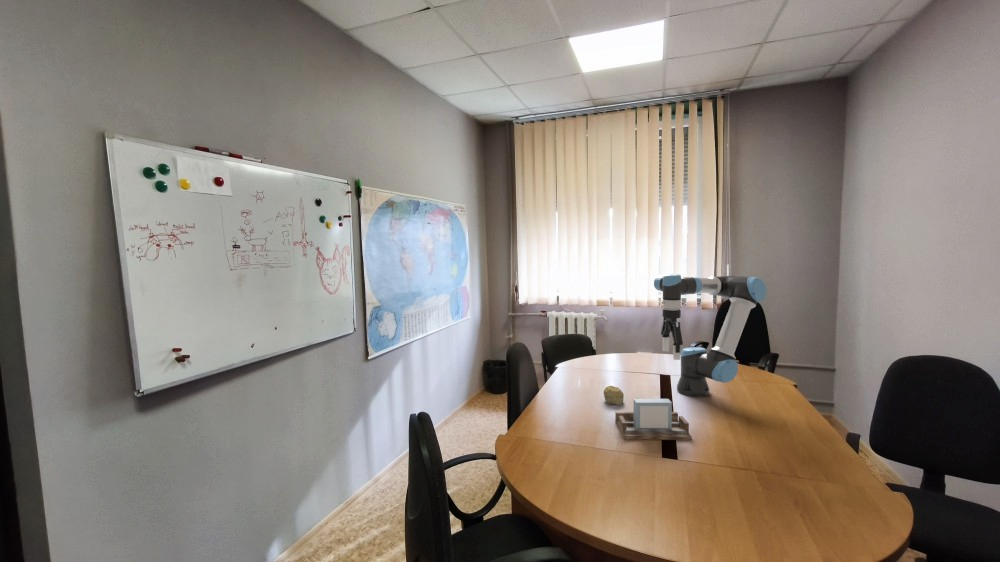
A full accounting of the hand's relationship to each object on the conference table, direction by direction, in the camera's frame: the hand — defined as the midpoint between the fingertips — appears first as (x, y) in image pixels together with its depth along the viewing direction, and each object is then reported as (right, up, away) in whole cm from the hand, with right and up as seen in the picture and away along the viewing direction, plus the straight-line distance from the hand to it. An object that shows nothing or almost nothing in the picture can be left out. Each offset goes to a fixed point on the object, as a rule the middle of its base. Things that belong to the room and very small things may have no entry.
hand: (671, 355), depth 176 cm
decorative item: (-21, -26, +16) cm, 37 cm away
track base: (-15, -29, -14) cm, 35 cm away
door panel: (-15, -27, -16) cm, 35 cm away
